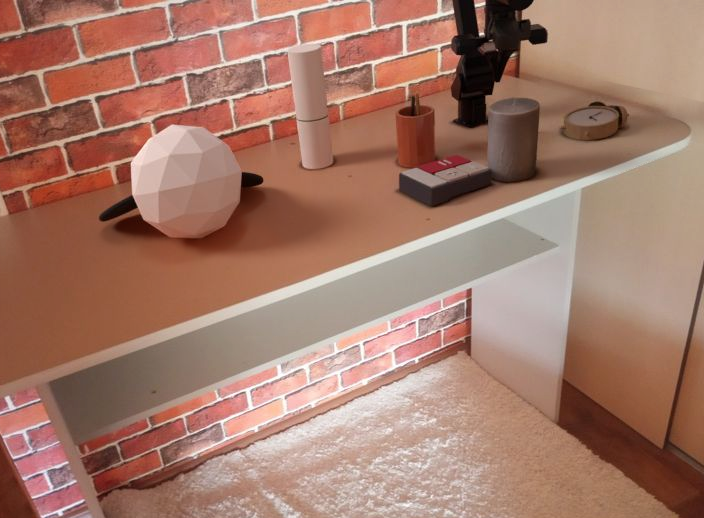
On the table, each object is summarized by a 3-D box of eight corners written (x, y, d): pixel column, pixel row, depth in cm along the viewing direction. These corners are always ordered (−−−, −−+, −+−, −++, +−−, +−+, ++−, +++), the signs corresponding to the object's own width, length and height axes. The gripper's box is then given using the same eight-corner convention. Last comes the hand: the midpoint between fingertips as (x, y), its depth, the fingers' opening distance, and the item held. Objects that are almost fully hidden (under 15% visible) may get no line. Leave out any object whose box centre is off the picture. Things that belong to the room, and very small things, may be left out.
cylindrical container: (334, 155, 164) (322, 42, 150) (332, 167, 158) (319, 50, 144) (304, 158, 165) (289, 45, 151) (300, 170, 159) (285, 54, 145)
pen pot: (391, 161, 157) (388, 111, 151) (420, 151, 160) (418, 102, 153) (413, 171, 151) (410, 119, 145) (442, 160, 154) (441, 109, 147)
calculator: (493, 166, 138) (431, 185, 133) (491, 187, 141) (431, 206, 135) (457, 152, 147) (397, 169, 141) (456, 172, 149) (398, 190, 144)
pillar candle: (542, 166, 144) (548, 91, 136) (525, 185, 138) (530, 108, 130) (497, 161, 149) (499, 89, 141) (478, 179, 143) (480, 105, 135)
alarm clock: (551, 120, 157) (599, 90, 161) (552, 140, 160) (599, 111, 164) (593, 131, 149) (641, 99, 152) (593, 152, 152) (641, 121, 155)
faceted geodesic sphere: (112, 267, 123) (75, 142, 117) (108, 250, 151) (78, 147, 144) (300, 221, 131) (275, 100, 124) (263, 212, 158) (241, 113, 152)
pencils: (406, 156, 155) (403, 91, 147) (418, 152, 157) (416, 88, 148) (414, 159, 153) (412, 94, 145) (426, 155, 154) (424, 90, 146)
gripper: (462, 17, 136) (462, 99, 145) (559, 3, 135) (553, 86, 144) (450, 6, 145) (450, 84, 154) (541, -7, 144) (536, 72, 153)
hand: (497, 82), depth 151 cm, fingers closed
